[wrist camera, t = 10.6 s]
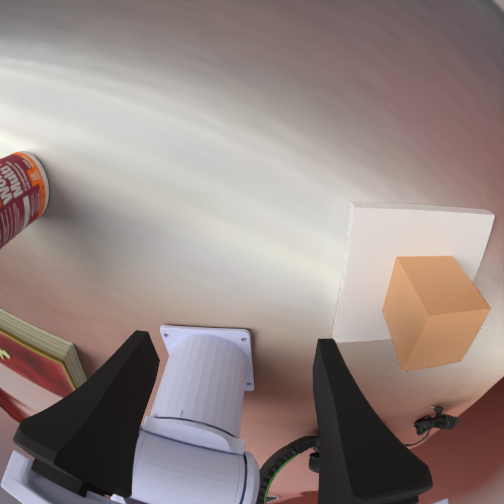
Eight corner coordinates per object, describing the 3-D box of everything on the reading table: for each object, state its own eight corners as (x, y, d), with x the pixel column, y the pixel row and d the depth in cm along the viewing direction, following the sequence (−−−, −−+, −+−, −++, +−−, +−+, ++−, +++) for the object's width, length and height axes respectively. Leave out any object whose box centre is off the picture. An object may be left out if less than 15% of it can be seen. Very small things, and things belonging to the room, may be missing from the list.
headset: (389, 382, 42) (228, 462, 32) (442, 364, 30) (240, 483, 21) (422, 461, 34) (275, 550, 24) (477, 459, 22) (303, 588, 13)
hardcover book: (94, 388, 35) (85, 410, 31) (1, 341, 34) (-11, 358, 30) (77, 340, 29) (61, 365, 25) (-23, 290, 28) (-39, 307, 24)
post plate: (446, 324, 23) (461, 355, 19) (331, 334, 24) (337, 371, 20) (488, 210, 17) (517, 234, 13) (350, 201, 18) (368, 230, 14)
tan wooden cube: (433, 306, 20) (460, 361, 15) (381, 311, 21) (402, 371, 16) (452, 255, 18) (490, 308, 13) (395, 256, 18) (428, 316, 13)
